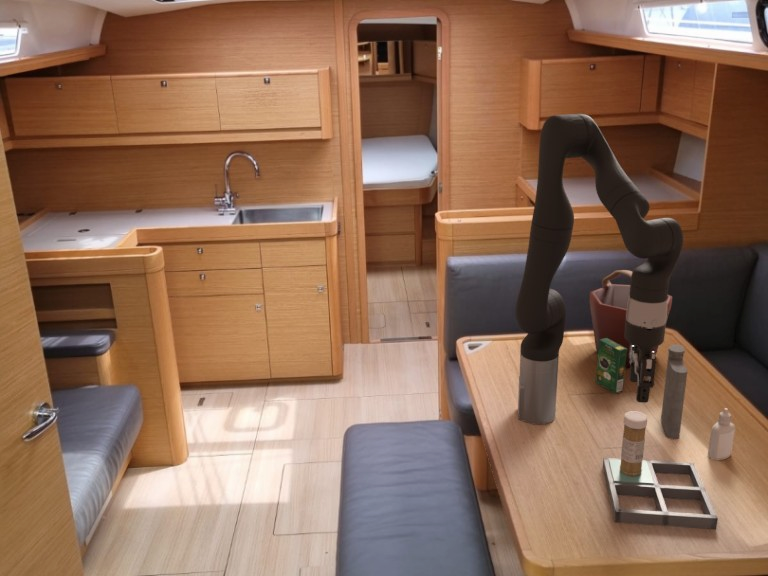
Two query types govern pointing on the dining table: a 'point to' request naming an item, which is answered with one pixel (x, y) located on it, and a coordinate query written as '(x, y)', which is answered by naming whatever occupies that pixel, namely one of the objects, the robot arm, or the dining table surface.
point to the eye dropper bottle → (721, 437)
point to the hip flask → (674, 392)
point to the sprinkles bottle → (633, 443)
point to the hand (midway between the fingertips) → (638, 391)
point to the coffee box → (611, 365)
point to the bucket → (613, 312)
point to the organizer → (658, 494)
